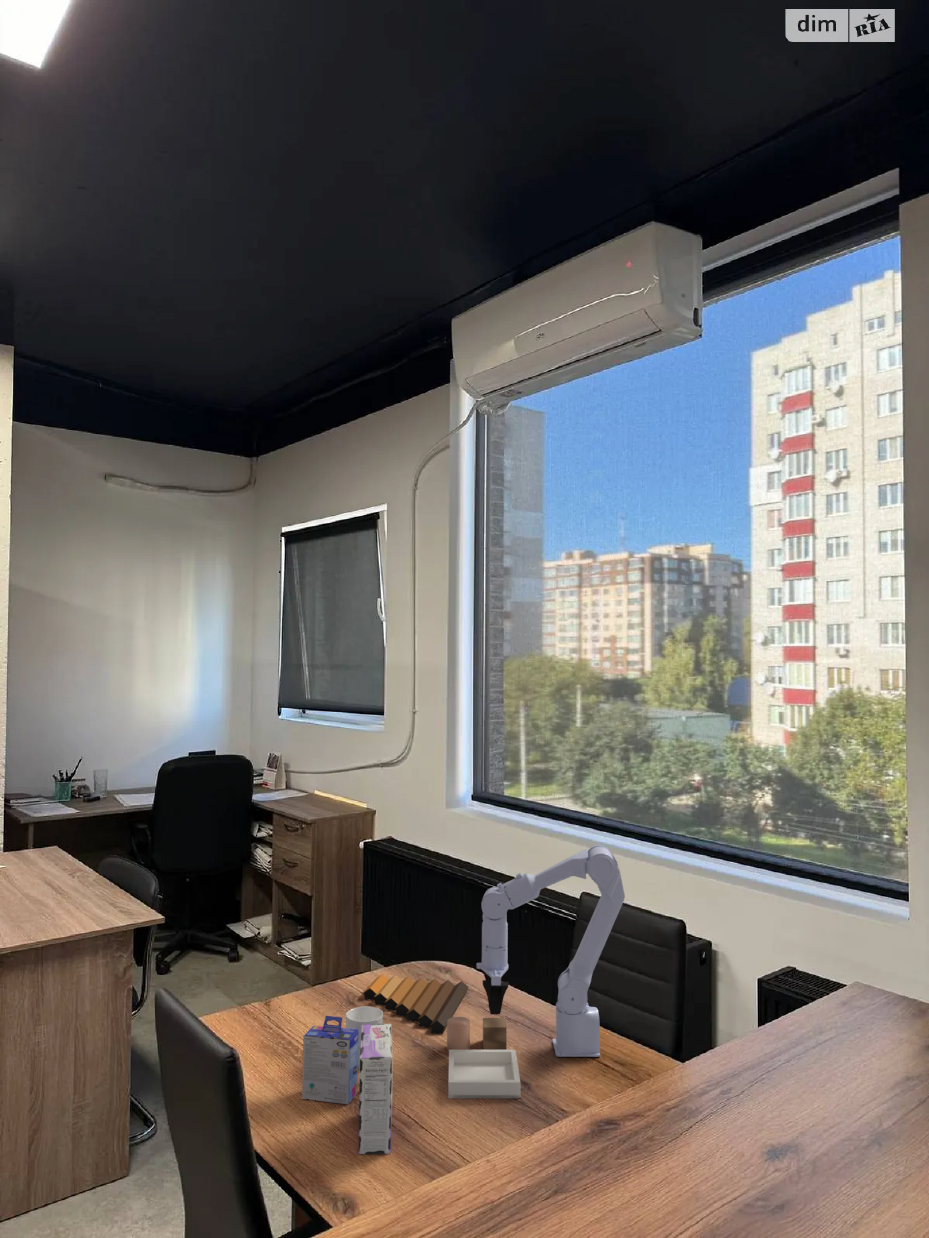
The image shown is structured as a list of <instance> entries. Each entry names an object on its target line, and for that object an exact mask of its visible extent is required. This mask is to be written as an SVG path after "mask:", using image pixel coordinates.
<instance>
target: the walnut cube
mask: <svg viewBox="0 0 929 1238" xmlns="http://www.w3.org/2000/svg"><path fill="white" fill-rule="evenodd" d="M507 1032H508V1031H507V1022H506V1018H505V1017H482V1045H483V1048H484V1049H483V1048H482V1049H483V1050H508V1049H507V1048H508V1047H507V1046H508V1045H507V1034H508V1033H507Z"/></svg>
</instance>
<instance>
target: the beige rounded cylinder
mask: <svg viewBox="0 0 929 1238" xmlns="http://www.w3.org/2000/svg"><path fill="white" fill-rule="evenodd" d="M470 1047H471V1020H470V1019H469V1018H467V1017H466V1016H465V1017H464V1016H453V1017H452V1018H450V1019H448V1020H447V1027H446V1051H447V1052H448V1053H449V1050H471V1049H470Z"/></svg>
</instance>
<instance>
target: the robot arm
mask: <svg viewBox="0 0 929 1238" xmlns="http://www.w3.org/2000/svg"><path fill="white" fill-rule="evenodd" d="M619 867H620V866H619V864H618V861H617V859H616V857H615V856H614V854H613V852H612V850H610V848H608V847H607V846H604V845H602V844H601V845H600V844H597V845H593V846H592V847H590V848H588V849H583V850H581V851H578V852H577V853H575V854H573V855H571V856H569V857H566V858H565V859H563V860H561V861H559V862H557V863H555V864H553V865H552V866H550V867H548V868H546V869H544V870H543V871H540V872H539V873H537V874H531V873H529V872H525V873H522V872H519V873H517V874H516V875H515V878H513V879H511V880H509V881H506V882H505V883H502V882H500V883H497V885H496V887H495V886H493V887H490V888H488V889H487V890H486V891H485V893H484V895H483V897H482V900H481V903H480V904H481V910H482V920H483V921H482V922H481V962H477V963H476V969H478V970H481V972H482V973H483V977H484V979H483V980H482V986H483V989H484V991H485V994H486V996H487V1002H488V1008H489V1013H490V1015H500V1014H501V1011H502V1007H503V1001H504V998H505V994H506V992H507V990H508V988H509V981H503V977H504V975H505V973H506V972H507V971H508V970H509V963H508V959H509V958H508V949H509V948H508V945H509V944H508V939H509V937H508V935H509V934H508V930H509V928H508V926H509V924H508V922H507V920H508V919H507V916H508V915H507V913H508V910H514V909H516V908H518V907H520V906H523V905H525V904H526V903H529V902H531V901H533V900H535V899H537V898H538V897H539V896H540V892H541V890H542V889H545V888H548V887H549V886H552V885H555V884H557V883H559V882H561V881H564V880H567V879H569V878H571V877H576V878H580V879H583V880H587V875H588V876H589V877H590V878H591V880H592V881H593V883H595V884H596V885H597V888H598V890H599V892H600V894H601V895H600V897H599V899H598V902H597V904H596V907H595V908H594V912H592V915H591V918H590V921H588V925H587V927H586V930H585V932H584V934H583V937H582V939H581V942H580V944H579V946H578V948H577V950H576V952H575V955H574V957H573V959H572V960H571V961H570V962H569V965H568V967H567V968H566V969H565V970H564V971H563V972H561V974H560V975H559V977H558V980H557V987H558V994H557V1001H556V1003H555V1038H552V1040H551V1041H552V1045H553V1048H554V1053H555V1057H559V1058H561V1057H564V1058H566V1057H571V1058H574V1057H576V1058H577V1057H579V1058H580V1057H583V1058H586V1057H589V1058H591V1057H593V1058H598V1057H601V1051H600V1048H601V1045H600V1043H601V1041H600V1039H601V1038H600V1037H601V1034H600V1031H601V1030H600V1015H599V1010H598V1008H597V1007H595V1006H589V1003H588V990H589V987H590V985H591V982H592V976H593V973H594V971H595V969H596V965H597V964H598V962H599V958H600V956H601V954H602V951H603V949H604V948H605V946H606V942H607V940H608V938H609V936H610V933H611V931H612V929H613V928H614V927H613V926H614V924H615V921H616V920H617V918H618V915H619V913H620V910H621V908H622V906H623V903H624V901H625V898H626V897H625V896H626V895H625V890H624V886H623V880H622V875H621V870H620V868H619Z"/></svg>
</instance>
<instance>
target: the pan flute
mask: <svg viewBox="0 0 929 1238" xmlns="http://www.w3.org/2000/svg"><path fill="white" fill-rule="evenodd" d="M468 988H469V986H468V985H467V984H466V983H465V982H464V981H463V980H461V981H460V982H458V983H455V984H454V983H452V982H451V981H450V980H449V979H447V980H446V981H444V982H443V983H441V982H440V981H439V980H437V979H436V978H434V979H432V980H431V981H429V982H428V981H427V980H425V979H424V978H423V977H420V978H419V979H417V980H413V979H412V978H411V977H410V976H409V975H408V976H407V977H405V978H404V979H400V978H399V977H398V976H397V975H393V976H392V977H391V978H388V977H387V976H385V975H384V974H381V975H379V976H377V977H376V978H375V979H374V980H373V981H371V983H370V985H369V986H367V988H366V989H364V991H363V996H364V1000H369V999H370V1001H374V1005H378V1006H384V1007H385V1010H386V1009H388V1011H394V1010H395V1012H396V1016H401V1017H402V1016H403V1017H406V1018H407V1021H408V1022H416V1023H418V1024H419V1025H418V1026H419V1028H428V1029H430V1031H431V1033H432V1034H438V1033H441V1035H444V1033H445V1031H446V1030H447V1020H448V1019H450V1018H452V1017H454V1015H455V1013H456V1011H457V1010H458V1008H459V1006H460V1004H461V1003H462V1001H463V999H464V998H465V996H466V994H467V992H468Z"/></svg>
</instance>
